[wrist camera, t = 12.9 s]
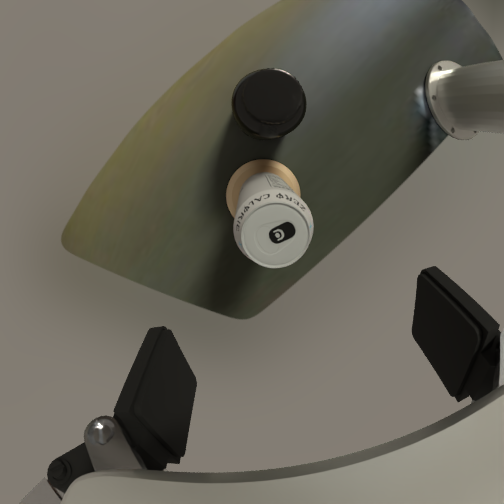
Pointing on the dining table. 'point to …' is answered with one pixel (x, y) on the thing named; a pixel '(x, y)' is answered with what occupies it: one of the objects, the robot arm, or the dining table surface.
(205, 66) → the dining table surface
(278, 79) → the supplement bottle
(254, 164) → the coaster
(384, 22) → the dining table surface
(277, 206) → the energy drink can
